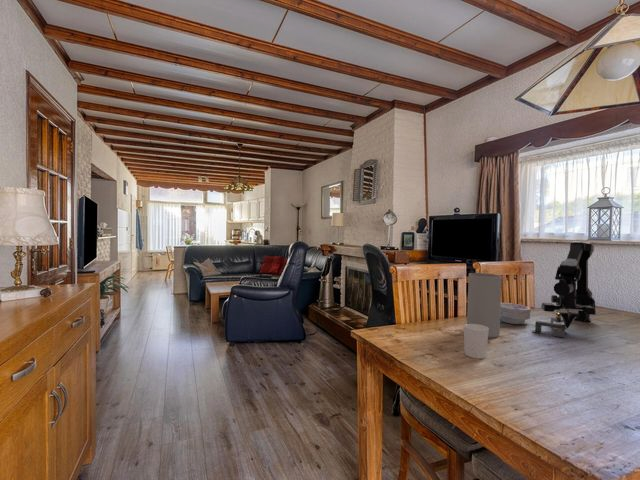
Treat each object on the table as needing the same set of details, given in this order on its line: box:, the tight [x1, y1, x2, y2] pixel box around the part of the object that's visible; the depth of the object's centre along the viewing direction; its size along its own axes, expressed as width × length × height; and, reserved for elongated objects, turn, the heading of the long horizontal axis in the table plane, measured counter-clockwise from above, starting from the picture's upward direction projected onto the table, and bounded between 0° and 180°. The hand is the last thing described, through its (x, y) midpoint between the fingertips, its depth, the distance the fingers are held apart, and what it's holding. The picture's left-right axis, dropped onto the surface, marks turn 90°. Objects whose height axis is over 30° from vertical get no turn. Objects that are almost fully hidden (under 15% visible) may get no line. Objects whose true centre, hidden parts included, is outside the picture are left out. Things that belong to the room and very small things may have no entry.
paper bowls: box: [500, 302, 531, 325], centre depth 163 cm, size 15×15×8 cm
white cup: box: [463, 323, 489, 360], centre depth 118 cm, size 8×8×10 cm
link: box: [550, 316, 566, 338], centre depth 150 cm, size 24×6×3 cm, turn 145°
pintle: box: [554, 311, 562, 319], centre depth 157 cm, size 7×7×6 cm
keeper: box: [531, 320, 567, 335], centre depth 144 cm, size 4×12×5 cm, turn 50°
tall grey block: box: [466, 272, 503, 339], centre depth 143 cm, size 12×12×25 cm
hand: (567, 327), depth 149 cm, fingers closed
